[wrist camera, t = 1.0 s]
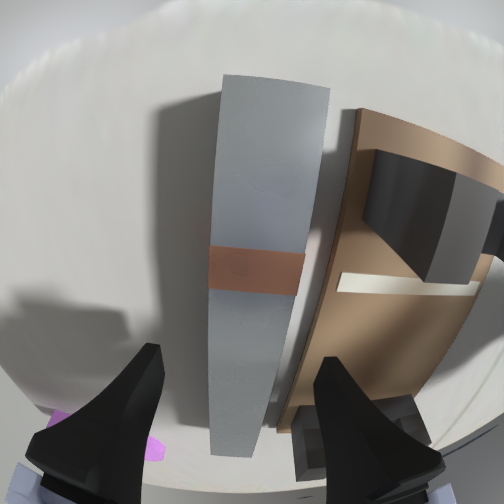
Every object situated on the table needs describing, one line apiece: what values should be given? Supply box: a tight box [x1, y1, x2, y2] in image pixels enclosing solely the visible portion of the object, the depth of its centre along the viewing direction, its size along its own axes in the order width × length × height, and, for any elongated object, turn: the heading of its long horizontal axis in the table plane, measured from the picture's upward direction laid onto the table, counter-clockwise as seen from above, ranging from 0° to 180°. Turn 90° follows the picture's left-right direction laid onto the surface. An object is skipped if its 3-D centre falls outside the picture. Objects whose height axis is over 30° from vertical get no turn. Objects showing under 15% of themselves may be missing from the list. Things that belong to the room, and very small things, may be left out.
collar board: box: [276, 108, 504, 482], centre depth 12 cm, size 11×22×6 cm, turn 174°
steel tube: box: [208, 75, 330, 458], centre depth 13 cm, size 3×22×3 cm, turn 174°
